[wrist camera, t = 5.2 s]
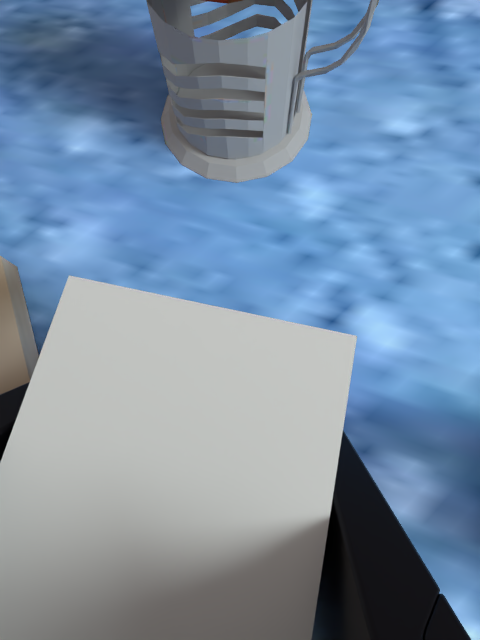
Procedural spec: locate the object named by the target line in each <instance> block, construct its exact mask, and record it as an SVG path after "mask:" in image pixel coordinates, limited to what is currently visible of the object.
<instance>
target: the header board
mask: <svg viewBox="0 0 480 640" xmlns="http://www.w3.org/2000/svg"><path fill="white" fill-rule="evenodd" d="M38 358H39V355H38V351H37V347H36V342H35V338H34V334H33V330H32V326H31V322H30V318H29V314H28V310H27V306H26V302H25V297H24V293H23V289H22V285H21V281H20V277H19V273H18V269H17V267H16V266H15V265H13V264H12V263H10V262H9V261H7V260H6V259H4V258H3V257H1V256H0V394H3V393H5V392H7V391H10V390H12V389H14V388H17V387H19V386H21V385H24V384H26V383H28V382H30V380H31V378H32V375H33V372H34V369H35V367H36V364H37V361H38Z"/></svg>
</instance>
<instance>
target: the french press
mask: <svg viewBox="0 0 480 640" xmlns="http://www.w3.org/2000/svg"><path fill="white" fill-rule="evenodd" d="M207 1H212V2H220V3H228V4H227V5H224V6H222V7H219V8H217V9H215V10H212V11H210V12H208V13H204V14H200V15H197V16H193V17H192V16H191V9H190V6H193V5H196V4H200V3H203V2H207ZM294 2H295V4H296V6H297V9H298V11H299V12H298V14H297V15H296V16H294V14H293V12H292V10H291V8H290V7H289V6H288V5H287V4H286V3H285V2H284V1H283V0H147V5H148V9H149V13H150V18H151V22H152V26H153V30H154V34H155V39H156V43H157V47H158V51H159V52H160V57H161V61H162V66H163V71H164V75H165V77H166V82H167V86H168V91H169V95H168V96H167V99H166V103H165V106H164V110H163V113H162V117H161V124H162V129H163V134H164V139H165V144H166V145H167V146H168V148H169V149H170V150H171V152H172V153H173V154H174V156H175V157H176V158H177V159H178V161H179V162H180V163H181V164H182V165H183V166H185V167H187V168H189V169H191V170H192V171H194V172H196V173H198V174H200V175H201V176H203V177H205V178H208V179H215V180H222V181H229V182H236V183H238V182H243V181H248V180H253V179H257V178H262V177H267V176H269V175H270V174H272V173H274V172H275V171H277V170H279V169H280V168H282V167H283V166H285V165H287V164H288V163H290V162H291V161H293V159H294V158H295V156H296V155H297V154H298V152H299V151H300V149H301V148H302V147H303V145H304V144H305V142H306V141H307V140H308V135H309V129H310V123H311V117H312V113H311V110H310V107H309V104H308V101H307V98H306V95H305V92H304V90H303V88H304V82H305V77H310V76H315V75H321V74H326V73H327V72H329V71H331V70H333V69H334V68H336V67H338V66H340V65H341V64H343V63H344V62H345V61H346V60H347V59H348V58H349V57H350V56H351V55H352V54H353V53H354V52H355V51H356V50H357V48H358V47H359V45H360V43H361V41H362V40H363V38H364V36H365V35H366V33H367V31H368V29H369V28H370V24H371V21H372V18H373V14H374V11H375V8H376V7H377V5H378V2H379V0H371V1H370V4H369V7H368V10H367V13H366V14H365V16H364V17H363V19H362V20H361V21H360V22H359V24H358V25H357V26H356V28H355V29H354V30H353V31H352V33H351V34H349V35H347V36H346V37H344V38H342V39H340V40H339V41H337V42H335V43H331V44H326V45H322V46H317V47H312V48H311V49H310V50H309V51H308V52H307V53H306V55H305V48H306V41H307V35H308V28H309V21H310V14H311V7H312V0H294ZM254 4H259V5H267V6H275V7H276V8H277V9H278V10H279V11H280V12H281V13H282V14H283V16H284V17H285V18H286V19H287V20H288V21H287V22H286V23H284V24H282V25H281V24H280V23H279V22H278V20H277V19H276V18H275V17H270V16H265V15H260V14H256V15H253V16H251V17H249V18H246V19H244V20H242V21H239V22H237V23H235V24H232V25H230V26H228V27H225V28H223V29H221V30H218V31H216V32H214V33H211V34H209V35H206V36H202V37H199V38H198V37H194V30H193V29H196V28H200V27H203V26H206V25H209V24H212V23H214V22H217V21H219V20H221V19H224V18H226V17H228V16H231V15H233V14H235V13H237V12H239V11H241V10H243V9H245V8H247V7H249V6H251V5H254ZM256 26H258V27H263V28H269V29H273V30H272V31H270V32H268V33H264V34H260V35H257V36H253V37H249V38H241V39H229V40H225V39H227V38H230V37H232V36H234V35H236V34H238V33H240V32H242V31H245V30H248V29H251V28H253V27H256ZM359 32H360V34H359V36H358V37H357V38H356V40H355V41H354V42H353V44H352V45H351V46H350V48H349V49H348V50H347V51H346V53H345V54H344V55H343V57H342V58H341V59H340V60H338V61H336V62H334V63H333V64H331V65H329V66H327V67H323V68H318V69H312V70H307V64H308V59H309V58H310V56H311V55H312V54H316V53H320V52H325V51H329V50H333V49H337V48H338V47H340V46H342V45H344V44H345V43H347V42H349V41H350V40H352V39H354V38H355V37H356V35H357V34H358V33H359ZM304 55H305V57H304ZM306 70H307V71H306Z"/></svg>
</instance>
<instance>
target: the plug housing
mask: <svg viewBox="0 0 480 640" xmlns="http://www.w3.org/2000/svg"><path fill="white" fill-rule="evenodd" d="M356 340H357V336H355V335H350V334H345V333H340V332H335V331H331V330H326V329H321V328H316V327H312V326H307V325H302V324H297V323H293V322H288V321H283V320H278V319H274V318H269V317H264V316H259V315H255V314H250V313H245V312H240V311H235V310H231V309H226V308H221V307H216V306H212V305H207V304H202V303H197V302H193V301H188V300H183V299H178V298H174V297H169V296H164V295H159V294H155V293H150V292H145V291H140V290H136V289H131V288H126V287H121V286H116V285H112V284H107V283H102V282H97V281H93V280H88V279H83V278H78V277H74V276H69V277H68V280H67V282H66V285H65V288H64V291H63V293H62V296H61V299H60V301H59V304H58V307H57V310H56V312H55V315H54V318H53V320H52V323H51V326H50V329H49V331H48V334H47V337H46V339H45V342H44V345H43V348H42V350H41V353H40V356H39V358H38V361H37V364H36V367H35V369H34V372H33V375H32V378H31V380H30V383H29V386H28V388H27V391H26V394H25V397H24V399H23V402H22V405H21V407H20V410H19V413H18V416H17V418H16V421H15V424H14V426H13V429H12V432H11V435H10V437H9V440H8V443H7V445H6V448H5V451H4V454H3V456H2V459H1V462H0V640H311V638H312V632H313V625H314V618H315V612H316V605H317V599H318V592H319V585H320V579H321V572H322V565H323V559H324V552H325V545H326V539H327V532H328V525H329V519H330V512H331V506H332V499H333V492H334V486H335V479H336V472H337V466H338V459H339V452H340V446H341V439H342V432H343V426H344V419H345V413H346V406H347V399H348V393H349V386H350V379H351V373H352V366H353V359H354V353H355V346H356Z"/></svg>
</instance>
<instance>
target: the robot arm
mask: <svg viewBox="0 0 480 640" xmlns="http://www.w3.org/2000/svg"><path fill="white" fill-rule="evenodd" d="M29 383H30V382H28V383H26V384H24V385H21V386H19V387H17V388H14V389H12V390H10V391H7V392H5V393H3V394H0V462H1V459H2V456H3V454H4V451H5V448H6V445H7V443H8V440H9V437H10V435H11V432H12V429H13V426H14V424H15V421H16V418H17V416H18V413H19V410H20V407H21V405H22V402H23V399H24V397H25V394H26V391H27V388H28V386H29ZM439 592H440V589H439V587H438V585H437V584H436V582H435V580H434V579H433V577H432V575H431V574H430V572H429V570H428V569H427V567H426V566H425V564H424V562H423V561H422V559H421V557H420V556H419V554H418V552H417V551H416V549H415V547H414V546H413V544H412V542H411V541H410V539H409V538H408V536H407V534H406V533H405V531H404V529H403V528H402V526H401V524H400V523H399V521H398V519H397V518H396V516H395V515H394V513H393V511H392V510H391V508H390V506H389V505H388V503H387V501H386V500H385V498H384V496H383V495H382V493H381V491H380V490H379V488H378V487H377V485H376V483H375V482H374V480H373V478H372V477H371V475H370V473H369V472H368V470H367V468H366V467H365V465H364V464H363V462H362V460H361V459H360V457H359V455H358V454H357V452H356V450H355V449H354V447H353V445H352V444H351V442H350V440H349V439H348V437H347V436H346V434H345V432H344V431H343V432H342V439H341V446H340V452H339V459H338V466H337V472H336V479H335V486H334V492H333V499H332V506H331V512H330V519H329V525H328V532H327V539H326V545H325V552H324V559H323V565H322V572H321V579H320V585H319V592H318V599H317V605H316V612H315V618H314V625H313V632H312V638H311V640H471V638H470V637H469V635H468V634H467V632H466V631H465V629H464V627H463V626H462V624H461V623H460V621H459V619H458V618H457V616H456V615H455V613H454V611H453V610H452V608H451V606H450V605H449V603H448V601H447V600H446V598H445V596H444V595H443V594H439Z"/></svg>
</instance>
